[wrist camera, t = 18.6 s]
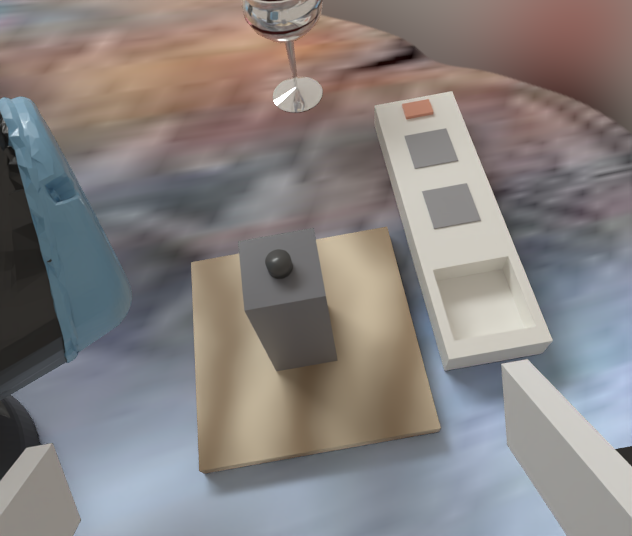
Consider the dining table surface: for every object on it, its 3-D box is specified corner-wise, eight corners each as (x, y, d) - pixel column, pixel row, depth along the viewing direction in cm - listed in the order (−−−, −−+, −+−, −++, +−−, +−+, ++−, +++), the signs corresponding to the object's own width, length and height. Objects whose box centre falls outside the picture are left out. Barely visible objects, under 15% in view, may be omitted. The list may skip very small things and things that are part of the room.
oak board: (204, 473, 35) (199, 471, 34) (195, 269, 43) (191, 262, 42) (438, 431, 35) (440, 428, 34) (386, 234, 43) (387, 226, 42)
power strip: (444, 371, 37) (449, 357, 34) (374, 125, 49) (374, 103, 46) (542, 353, 37) (554, 339, 34) (448, 112, 49) (452, 88, 46)
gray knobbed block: (276, 371, 37) (240, 304, 27) (269, 315, 39) (234, 233, 29) (337, 360, 37) (324, 289, 27) (327, 304, 39) (312, 219, 29)
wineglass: (335, 113, 50) (325, -4, 39) (265, 123, 50) (237, 9, 40) (327, 65, 53) (316, -54, 43) (262, 75, 53) (235, -42, 43)
